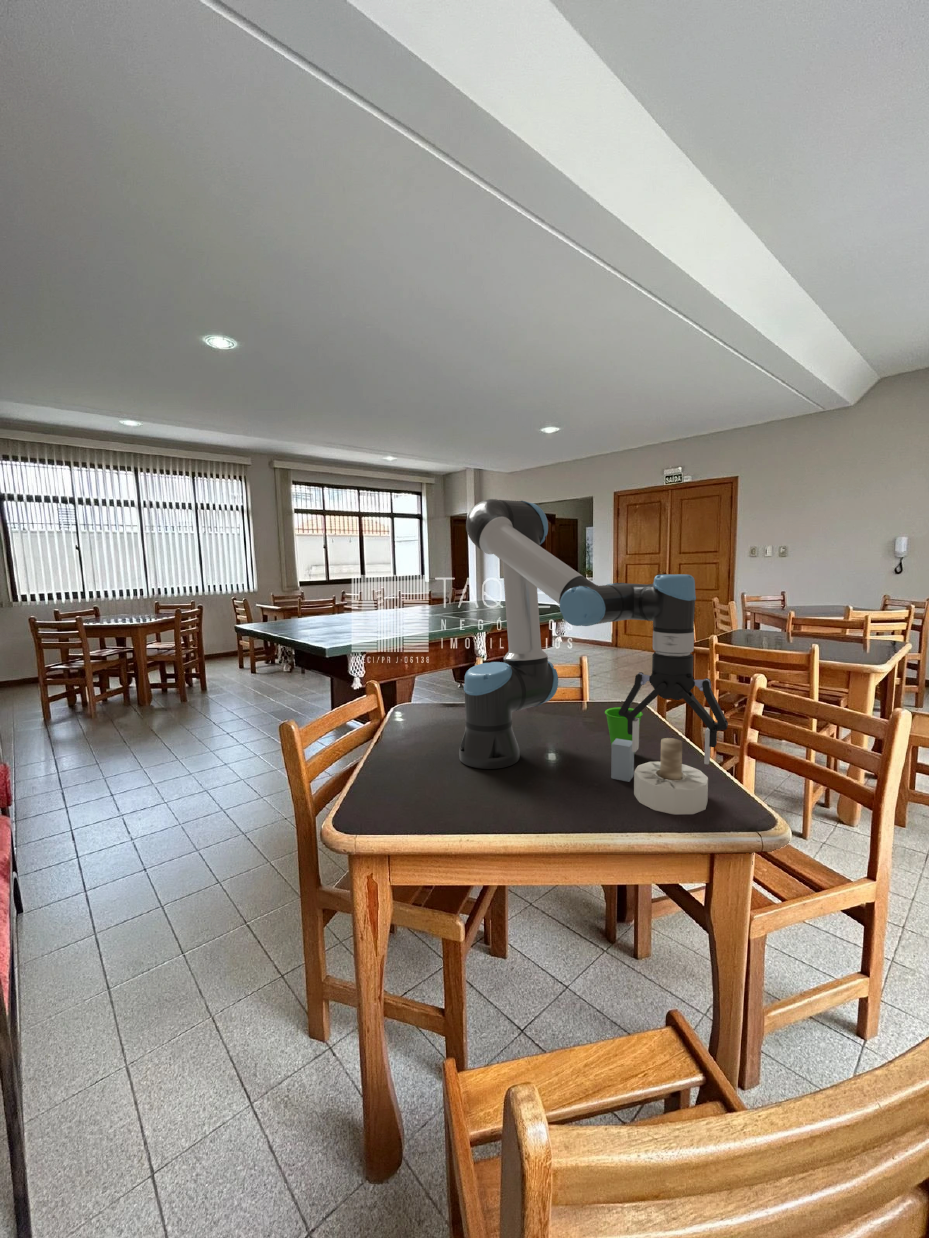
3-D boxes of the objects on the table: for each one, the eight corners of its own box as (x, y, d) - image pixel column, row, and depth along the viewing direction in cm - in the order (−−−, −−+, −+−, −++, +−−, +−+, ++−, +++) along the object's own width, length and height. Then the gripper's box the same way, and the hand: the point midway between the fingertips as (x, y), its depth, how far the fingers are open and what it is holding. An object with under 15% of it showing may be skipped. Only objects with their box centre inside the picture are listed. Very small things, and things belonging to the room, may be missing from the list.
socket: (628, 804, 100) (628, 780, 100) (642, 778, 112) (643, 757, 111) (702, 820, 93) (703, 794, 93) (709, 791, 105) (710, 768, 104)
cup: (645, 762, 121) (645, 718, 120) (605, 760, 123) (606, 717, 121) (639, 749, 129) (640, 707, 128) (603, 747, 131) (603, 706, 130)
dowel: (658, 800, 102) (659, 742, 101) (661, 792, 105) (662, 736, 104) (679, 804, 100) (680, 746, 99) (682, 796, 103) (683, 739, 102)
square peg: (611, 778, 113) (611, 743, 112) (615, 771, 116) (616, 738, 115) (629, 781, 111) (629, 746, 110) (633, 775, 114) (634, 741, 113)
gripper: (604, 650, 103) (603, 750, 105) (743, 661, 90) (738, 774, 92) (614, 645, 109) (612, 739, 111) (745, 654, 96) (740, 760, 99)
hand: (670, 755), depth 102 cm, fingers open, 13 cm apart
